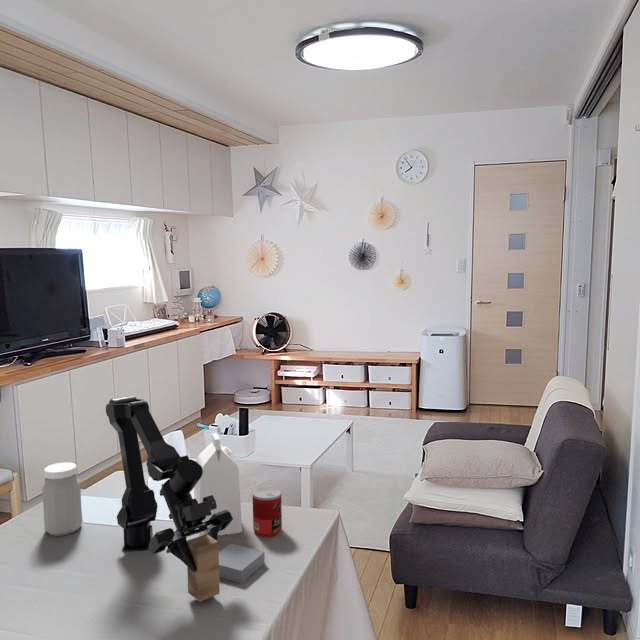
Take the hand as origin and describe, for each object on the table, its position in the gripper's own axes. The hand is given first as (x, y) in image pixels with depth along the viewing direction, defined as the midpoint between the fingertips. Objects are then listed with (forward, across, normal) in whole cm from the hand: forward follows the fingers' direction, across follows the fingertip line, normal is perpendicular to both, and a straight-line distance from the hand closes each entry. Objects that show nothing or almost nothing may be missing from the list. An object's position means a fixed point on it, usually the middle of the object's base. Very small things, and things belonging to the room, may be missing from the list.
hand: (206, 567), depth 133 cm
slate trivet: (0, +13, +11) cm, 17 cm away
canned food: (-8, +31, +20) cm, 37 cm away
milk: (-16, +22, +28) cm, 39 cm away
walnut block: (+4, 0, +6) cm, 7 cm away
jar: (-35, -11, +47) cm, 60 cm away
